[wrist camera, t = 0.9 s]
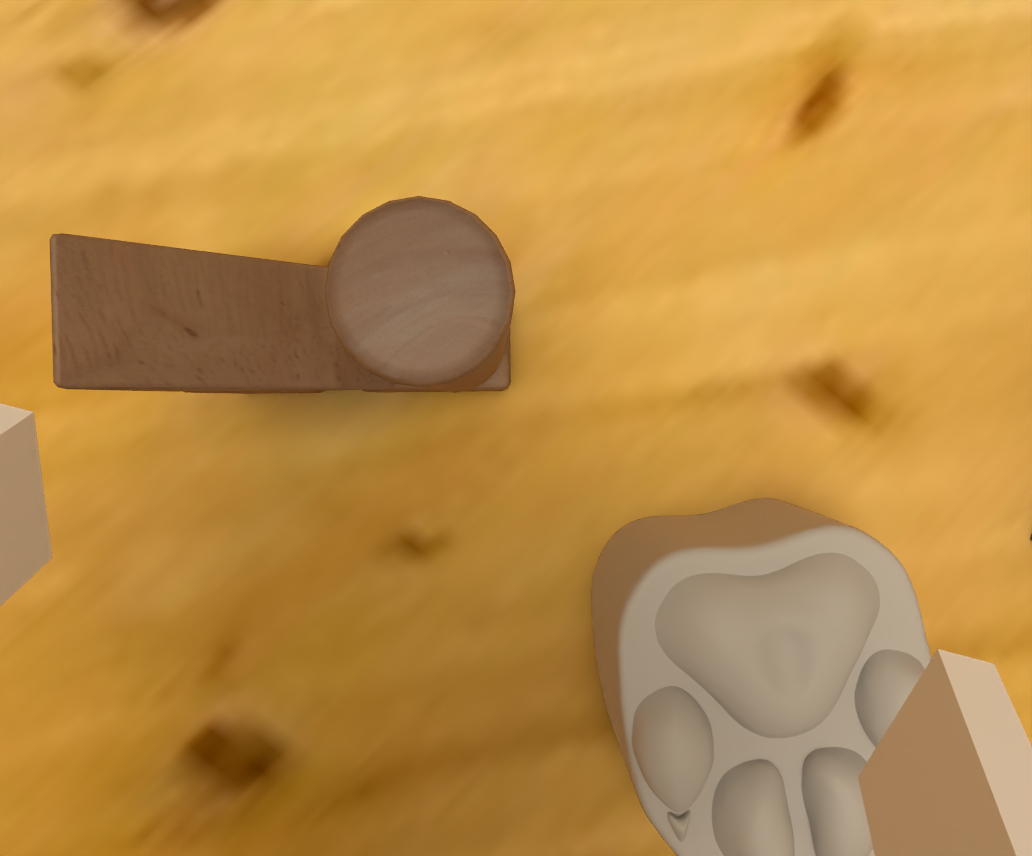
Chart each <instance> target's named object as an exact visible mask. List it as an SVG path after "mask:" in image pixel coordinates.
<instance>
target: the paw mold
mask: <svg viewBox="0 0 1032 856" xmlns="http://www.w3.org/2000/svg"><path fill="white" fill-rule="evenodd" d="M591 600H592V617H593V633H594V645H595V653H596V660H597V667H598V672H599V678H600V683H601V688H602V692H603V696H604V701H605V705H606V708H607V712H608V715H609V718H610V721H611V724H612V726H613V729H614V732H615V735H616V737H617V740H618V743H619V746H620V748H621V751H622V754H623V757H624V759H625V762H626V765H627V768H628V770H629V773H630V776H631V779H632V782H633V785H634V788H635V791H636V793H637V796H638V799H639V801H640V803H641V806H642V808H643V810H644V812H645V814H646V815H647V817H648V818H649V820H650V821H651V823H652V824H653V826H654V827H655V829H656V830H657V831H658V833H659V834H660V835H661V837H662V838H663V839H664V841H665V842H666V843H667V844H668V845H669V847H670V848H671V849H672V850H673V851H674V853H675V854H676V855H677V856H875V853H874V849H873V844H872V840H871V835H870V830H869V826H868V821H867V817H866V812H865V808H864V803H863V799H862V794H861V790H860V785H859V780H858V776H859V774H860V773H861V771H862V769H863V768H864V766H865V765H866V763H867V761H868V760H869V758H870V757H871V755H872V753H873V752H874V750H875V749H876V747H877V745H878V744H879V742H880V741H881V739H882V737H883V736H884V734H885V733H886V731H887V729H888V728H889V726H890V725H891V723H892V721H893V720H894V718H895V717H896V715H897V713H898V712H899V710H900V709H901V707H902V705H903V704H904V702H905V701H906V699H907V697H908V696H909V694H910V693H911V691H912V689H913V688H914V686H915V685H916V683H917V681H918V680H919V678H920V677H921V675H922V673H923V672H924V670H925V669H926V667H927V665H928V664H929V662H930V661H931V655H930V650H929V646H928V643H927V640H926V635H925V631H924V626H923V621H922V616H921V613H920V609H919V605H918V601H917V597H916V594H915V591H914V589H913V586H912V583H911V581H910V579H909V577H908V574H907V573H906V571H905V569H904V567H903V566H902V564H901V563H900V562H899V560H898V559H897V558H896V557H895V556H894V555H893V554H892V552H891V551H890V550H888V549H887V548H886V547H885V546H884V545H883V544H881V543H880V542H879V541H877V540H876V539H875V538H873V537H872V536H870V535H868V534H867V533H865V532H863V531H861V530H859V529H857V528H855V527H852V526H849V525H845V524H843V523H841V522H838V521H836V520H834V519H831V518H828V517H825V516H823V515H820V514H817V513H814V512H811V511H809V510H806V509H803V508H800V507H797V506H794V505H792V504H789V503H786V502H783V501H780V500H776V499H769V498H762V499H753V500H749V501H745V502H741V503H738V504H735V505H732V506H729V507H727V508H724V509H721V510H718V511H714V512H710V513H706V514H700V515H690V516H654V517H647V518H642V519H639V520H636V521H633V522H631V523H629V524H627V525H625V526H624V527H622V528H621V529H620V530H618V531H617V532H616V533H615V534H614V535H613V536H612V538H611V539H610V540H609V541H608V543H607V544H606V546H605V547H604V549H603V551H602V552H601V554H600V556H599V559H598V561H597V564H596V567H595V570H594V575H593V581H592V593H591Z"/></svg>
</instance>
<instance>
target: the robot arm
mask: <svg viewBox="0 0 1032 856" xmlns="http://www.w3.org/2000/svg"><path fill="white" fill-rule="evenodd" d="M50 559H52V551H51V544H50V536H49V528H48V520H47V512H46V505H45V497H44V489H43V481H42V473H41V466H40V458H39V450H38V442H37V434H36V427H35V419H34V412H31V411H28V410H24V409H20V408H16V407H12V406H8V405H5V404H1V403H0V606H1V605H2V604H3V603H5V602H6V601H7V600H8V599H9V598H10V597H11V596H12V595H13V594H14V593H15V592H16V591H17V590H18V589H19V588H21V587H22V586H23V585H24V584H25V583H26V582H27V581H28V580H29V579H30V578H31V577H32V576H33V575H34V574H36V573H37V572H38V571H39V570H40V569H41V568H42V567H43V566H44V565H45V564H46V563H47V562H48V561H49V560H50ZM858 780H859V785H860V790H861V794H862V799H863V803H864V808H865V812H866V817H867V821H868V826H869V830H870V835H871V840H872V844H873V849H874V853H875V856H1032V746H1031V744H1030V742H1029V740H1028V737H1027V735H1026V733H1025V731H1024V729H1023V726H1022V724H1021V722H1020V720H1019V717H1018V715H1017V713H1016V711H1015V709H1014V706H1013V704H1012V702H1011V700H1010V698H1009V695H1008V693H1007V691H1006V689H1005V687H1004V684H1003V682H1002V680H1001V678H1000V675H999V673H998V671H997V669H996V667H995V664H993V663H989V662H985V661H982V660H978V659H974V658H970V657H966V656H963V655H959V654H955V653H951V652H947V651H943V650H940V649H938V650H937V651H936V653H935V654H934V656H933V658H932V659H931V661H930V662H929V664H928V665H927V667H926V669H925V670H924V672H923V673H922V675H921V677H920V678H919V680H918V681H917V683H916V685H915V686H914V688H913V689H912V691H911V693H910V694H909V696H908V697H907V699H906V701H905V702H904V704H903V705H902V707H901V709H900V710H899V712H898V713H897V715H896V717H895V718H894V720H893V721H892V723H891V725H890V726H889V728H888V729H887V731H886V733H885V734H884V736H883V737H882V739H881V741H880V742H879V744H878V745H877V747H876V749H875V750H874V752H873V753H872V755H871V757H870V758H869V760H868V761H867V763H866V765H865V766H864V768H863V769H862V771H861V773H860V774H859V776H858Z"/></svg>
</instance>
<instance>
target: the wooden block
mask: <svg viewBox="0 0 1032 856" xmlns="http://www.w3.org/2000/svg"><path fill="white" fill-rule="evenodd" d="M50 267H51V304H52V340H53V377H54V383H55V384H56V386H57V387H60V388H64V389H87V390H132V391H183V392H193V393H245V394H250V393H320V392H322V391H325V390H362V391H368V392H455V393H456V392H462V391H503V390H505V389H507V388H508V387H509V385H510V382H511V374H510V324H511V318H512V311H513V304H514V298H515V286H514V280H513V274H512V268H511V263H510V260H509V258H508V256H507V255H506V253H505V251H504V249H503V247H502V245H501V243H500V241H499V239H498V237H497V235H496V234H495V233H494V232H493V231H492V230H491V229H490V228H489V227H488V226H487V225H486V224H485V223H484V222H483V221H481V220H480V219H479V218H478V217H477V216H476V215H475V214H474V213H472V212H470V211H468V210H466V209H464V208H462V207H460V206H458V205H456V204H454V203H452V202H450V201H446V200H440V199H434V198H427V197H421V196H417V197H411V198H405V199H399V200H393V201H389V202H387V203H385V204H383V205H381V206H379V207H377V208H375V209H373V210H371V211H369V212H367V213H365V214H364V215H362V216H361V217H360V218H359V219H358V220H357V221H356V222H355V223H354V224H353V225H352V226H351V227H350V229H349V230H348V231H347V232H346V233H345V234H344V235H343V236H342V237H341V239H340V241H339V243H338V245H337V247H336V249H335V251H334V253H333V256H332V258H331V260H330V262H329V265H328V267H323V266H315V265H307V264H299V263H292V262H284V261H276V260H268V259H260V258H252V257H244V256H236V255H228V254H220V253H213V252H205V251H197V250H189V249H181V248H173V247H165V246H157V245H149V244H141V243H134V242H126V241H118V240H110V239H102V238H94V237H86V236H78V235H70V234H63V233H62V234H53V235H52V237H51V238H50Z"/></svg>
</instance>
